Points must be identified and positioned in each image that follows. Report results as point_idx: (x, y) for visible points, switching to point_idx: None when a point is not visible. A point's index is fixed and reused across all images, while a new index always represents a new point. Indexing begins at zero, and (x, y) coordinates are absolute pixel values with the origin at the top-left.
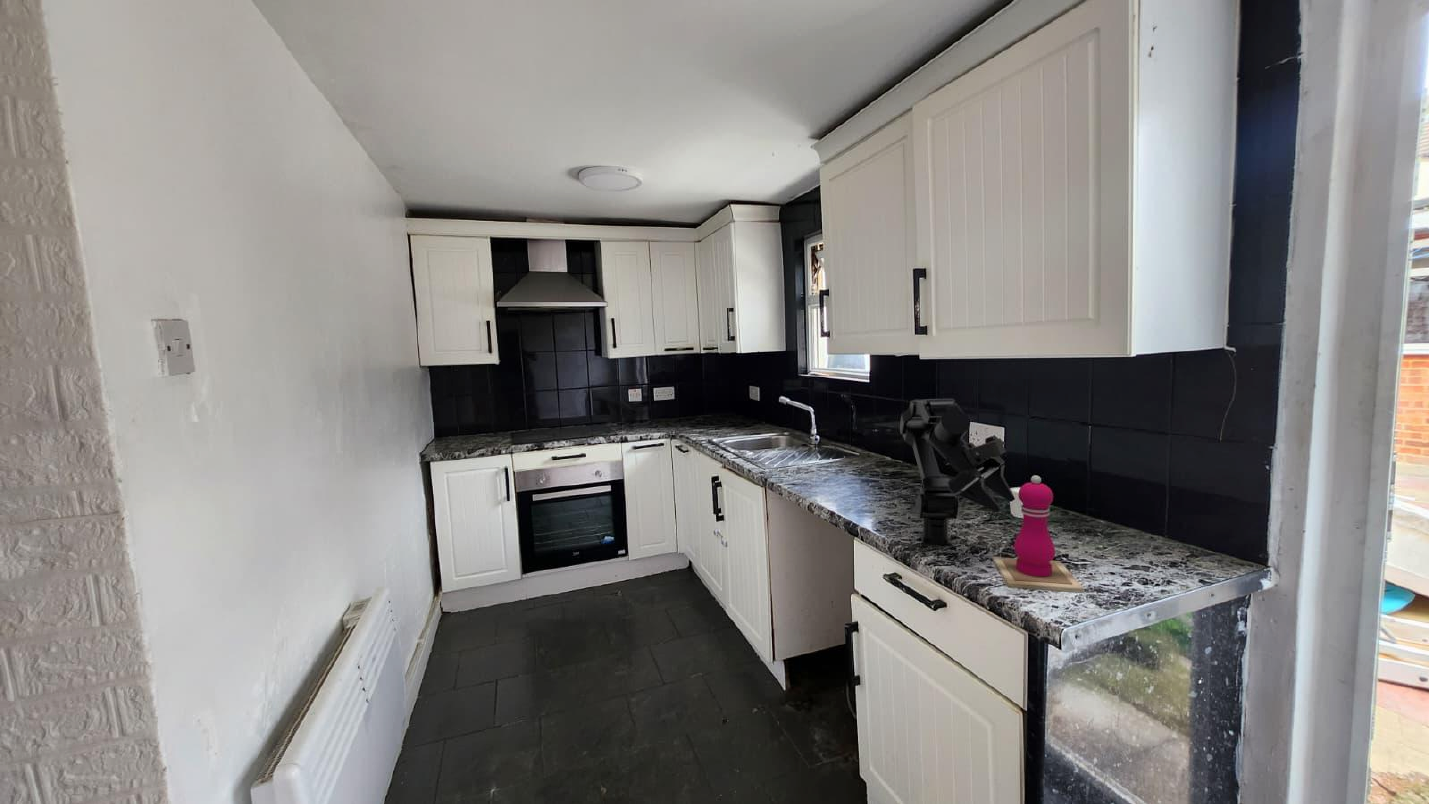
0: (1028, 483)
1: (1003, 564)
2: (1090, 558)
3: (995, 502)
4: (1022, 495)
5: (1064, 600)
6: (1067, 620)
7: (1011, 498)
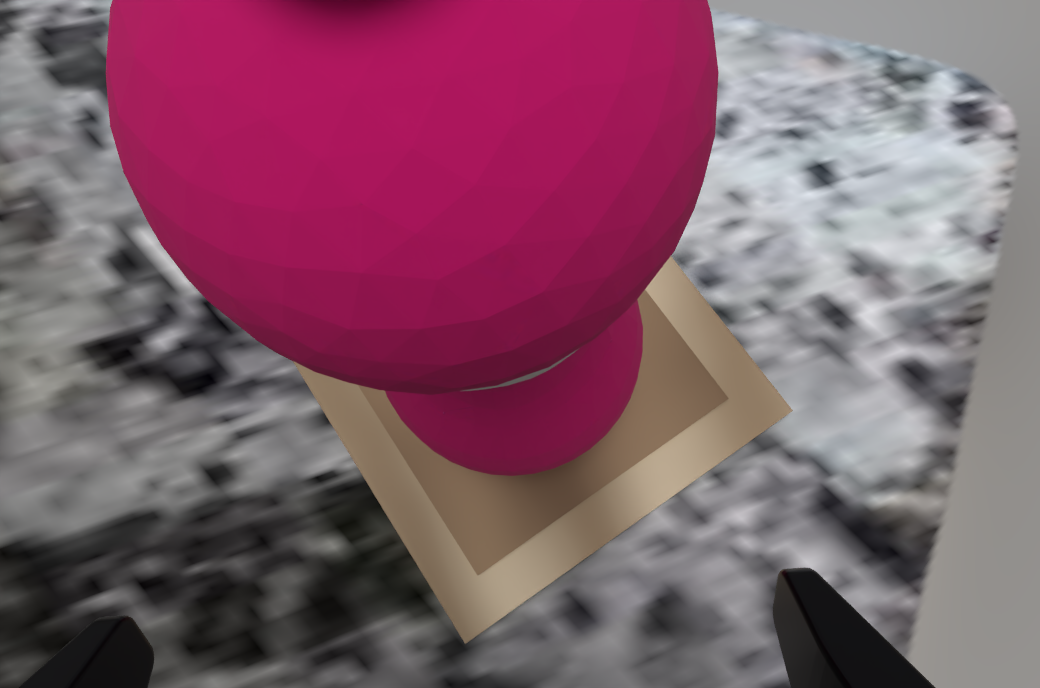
0: (423, 72)
1: (540, 541)
2: (81, 243)
3: (873, 665)
4: (678, 229)
5: (718, 167)
6: (917, 94)
7: (126, 660)
